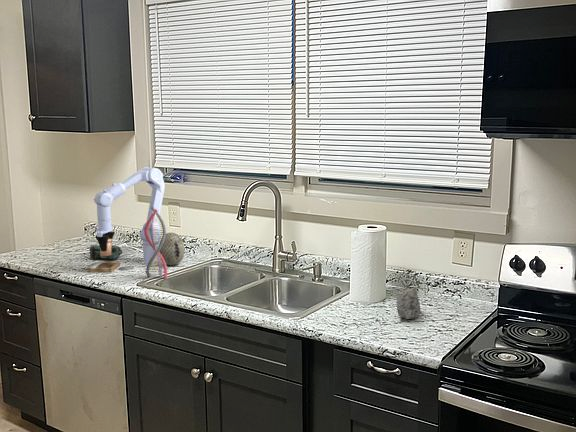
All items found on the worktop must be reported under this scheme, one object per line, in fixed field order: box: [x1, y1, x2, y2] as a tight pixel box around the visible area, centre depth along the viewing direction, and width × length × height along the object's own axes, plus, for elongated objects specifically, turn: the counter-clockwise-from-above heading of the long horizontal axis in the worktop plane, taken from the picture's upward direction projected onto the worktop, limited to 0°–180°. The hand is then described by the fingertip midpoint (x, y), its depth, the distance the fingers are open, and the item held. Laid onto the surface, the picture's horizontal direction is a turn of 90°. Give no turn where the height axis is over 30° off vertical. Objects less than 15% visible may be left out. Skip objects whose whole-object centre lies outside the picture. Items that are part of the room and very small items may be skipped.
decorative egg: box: [159, 232, 186, 266], centre depth 288 cm, size 12×12×15 cm
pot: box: [100, 238, 113, 256], centre depth 279 cm, size 5×5×7 cm
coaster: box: [118, 265, 135, 272], centre depth 281 cm, size 7×7×1 cm
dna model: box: [144, 207, 168, 279], centre depth 264 cm, size 9×9×30 cm
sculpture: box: [89, 244, 123, 261], centre depth 299 cm, size 12×8×15 cm
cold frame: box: [85, 260, 121, 274], centre depth 281 cm, size 11×13×2 cm
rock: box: [396, 287, 421, 320], centre depth 217 cm, size 15×8×10 cm, turn 142°
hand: (106, 249), depth 279 cm, fingers closed on pot, 5 cm apart
